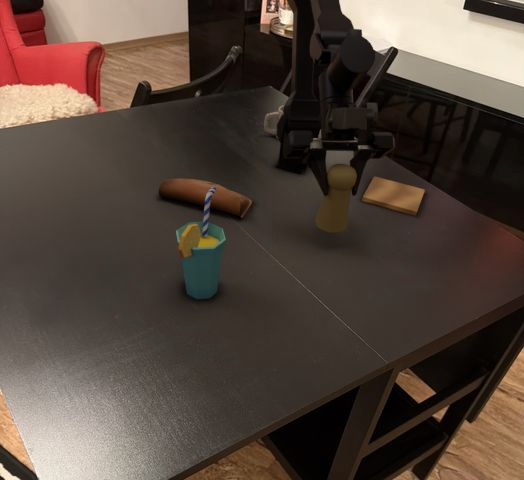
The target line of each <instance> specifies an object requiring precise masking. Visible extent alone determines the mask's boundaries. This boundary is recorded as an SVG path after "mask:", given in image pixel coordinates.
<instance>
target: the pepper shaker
mask: <svg viewBox="0 0 524 480" xmlns="http://www.w3.org/2000/svg"><path fill="white" fill-rule="evenodd" d="M356 179H357V174H356V171H355V169H354V168H353V167H351V166H350V164H345V163H335V164H332V165H331V166H330V167H328V169H327V180H328V195H327V196H324V195H323V197H322V199H321V203H320V206H319V209H318V212H317V214H316V217H315V221H314V222H315V225H316V227H317V228H319V229H320V230H322V231H324V232H328V233H333V234H335V233H337V234H338V233H342V232H344V231H345V230H347V227H348V220H349V212H350V201H351V193H352V191H351V188H352V187H353V186H354V184H355V182H356Z"/></svg>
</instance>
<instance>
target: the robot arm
mask: <svg viewBox="0 0 524 480" xmlns="http://www.w3.org/2000/svg"><path fill="white" fill-rule="evenodd" d="M286 2H287V4H288V6H289V8H290V10H291V12H292V45H291V46H292V49H291V50H292V51H291V85H290V86H291V90H290V94H289V97H288V98H287V100H286V101H285V104H284V109H283V114H282V116H281V118H280V120H279V122H278V124H277V123H276V128H277V137H278V138H277V137H276V138H277V140H278V141H279V144H280V145H279V153H278V161H277V162H276V163H275V167H276V168H278V169H282V170H285V171H289V172H292V173H296V174H302V173H303V172H304V171H305V169H307V168H309V170H310V171H311V173H312V175H313V176H314V178H315V179H316V182H317V184H318V186H319V188H320V190H321V192H322V194H323V197H324V196H327V195H328V180H327V172H328V169H327V163H326V161H327V160H326V159H327V152H352V153H353V154H352V156H353V157H352V158H351V159H350V160H349V166H351V167H353V168H354V169H355V171H356V174H357V179H356V182H355V184H354V186H353V187H352V188H351V196H353V197H355V196H357V194H358V190H359V187H360V184H361V180H362V177H363V173H364V170H365V168H366V165H367V163H368V161H370V160H381V159H383V158H384V157H386V156H387V155H388V154H390V153H391V152H392V151H393V150H394V149H395V148H396V144H395V143H396V141H395V137H394V135H393V134H392V132H391V131H389V132H388V131H387V132H386V131H372V132H370V134H368V135H367V136H366V137H365V138H355V137H356V136H359V135H360V134H361V131H367V127H368V126H369V125H371V126H372V125H377V122H378V117H379V107H378V102H364V103H363V105H362V107H357V102H354V94H353V92H354V91H353V90H354V89H356V88H357V86H359V84H361V82H362V80H363V79H364V78H365V76H366V75H367V74H368V72H369V71H370V70H371V69H372V67H373V66H374V63H375V61H376V51H375V50H374V46H373V45H372V43H371V42H370V41H369V40H368V39H367V38H365V37H364V36H363V29H361V28H360V29H359V28H355V27H354V24H353V22H352V20H351V19H350V18H349V17H348V16H347V15H346V14H344V13H343V11H342V7H341V2H340V0H286ZM314 65H316V66H327V67H326V68H324V69H323V70H321V71H322V72H321V73H320V75H319V76H318V82H317V89H318V96H319V99H317V97H316V96H315V94H314V92H313V91H314V88H313V87H314V67H315V66H314ZM367 125H368V126H367ZM319 136H320V137H319Z"/></svg>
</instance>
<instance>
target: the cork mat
mask: <svg viewBox="0 0 524 480" xmlns="http://www.w3.org/2000/svg"><path fill="white" fill-rule="evenodd" d="M425 192H426V189H424V188H420V187H417V186H413V185H409V184H405V183H402V182H398V181H394V180H390V179H386V178H382V177H380V176H379V177H378V176H373V178H372V180H371V182H370V183H369V185H368V187H367V189H366V190H365V191H364V194H363V195H362V199H361V202H364V203H367V204H371V205H375V206H379V207H382V208H386V209H390V210H393V211H397V212H401V213H404V214H408V215H410V216H411V215H412V216H415V217H416V216H417V214H418V211H419V208H420V206H421V203H422V199H423V197H424V194H425Z"/></svg>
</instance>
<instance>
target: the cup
mask: <svg viewBox="0 0 524 480" xmlns="http://www.w3.org/2000/svg"><path fill="white" fill-rule="evenodd" d="M215 191H216V188H215V187H212V188H211V189H210V190H209V191H208V192H207V194H206V198H205V206H203V207H204V208H203V220H202V221H188V222H187V223H185V224H184V225H183V226H181V227H179V228H178V229H176V230H175V233H176V240H177V245H178V246H177V250H178V253H179V256H180V257H181V265H182V269H183V277H184V285H185V290H186V295H188V296H190V297H191V298H193V299H195V300H205V299H208V300H209V299H211V298H212V297H213V296H214V295H215V294H217V292H218V286H219V278H220V272H221V265H222V257H223V251H224V247H225V246H226V243H227V242H226V241H227V239H226V235H225V231H224V228H223V227H220V226H218V225H216V224H214V223H212V222H209V221H210V210H211V208H210V201H211V197H212V195H213V194H214V193H215Z"/></svg>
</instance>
